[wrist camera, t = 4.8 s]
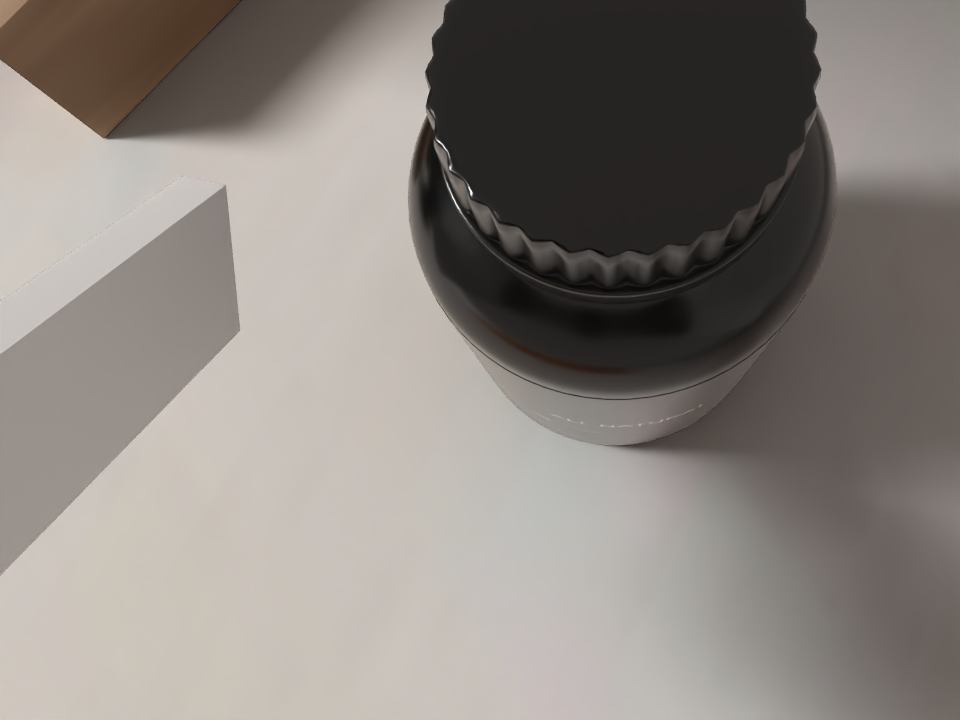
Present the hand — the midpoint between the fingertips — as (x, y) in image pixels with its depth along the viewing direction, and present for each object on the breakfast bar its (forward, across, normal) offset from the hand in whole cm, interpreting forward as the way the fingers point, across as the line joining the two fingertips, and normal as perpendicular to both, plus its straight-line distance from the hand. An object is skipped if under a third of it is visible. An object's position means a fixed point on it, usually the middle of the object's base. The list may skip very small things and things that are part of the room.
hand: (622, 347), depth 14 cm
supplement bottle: (+8, -1, -4) cm, 9 cm away
